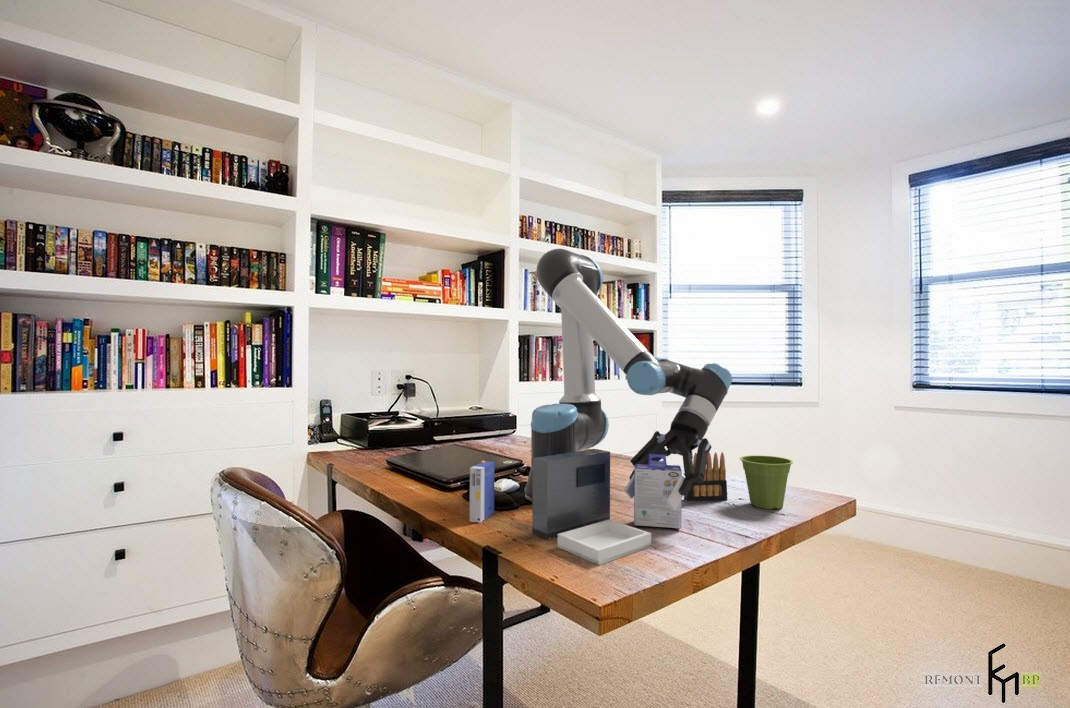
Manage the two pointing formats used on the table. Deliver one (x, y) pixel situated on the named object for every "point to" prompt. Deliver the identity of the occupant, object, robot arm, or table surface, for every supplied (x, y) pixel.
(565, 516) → the block
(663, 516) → the ink cartridge box
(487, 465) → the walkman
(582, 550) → the tray
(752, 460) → the plant pot
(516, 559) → the table surface
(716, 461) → the ammunition clip
